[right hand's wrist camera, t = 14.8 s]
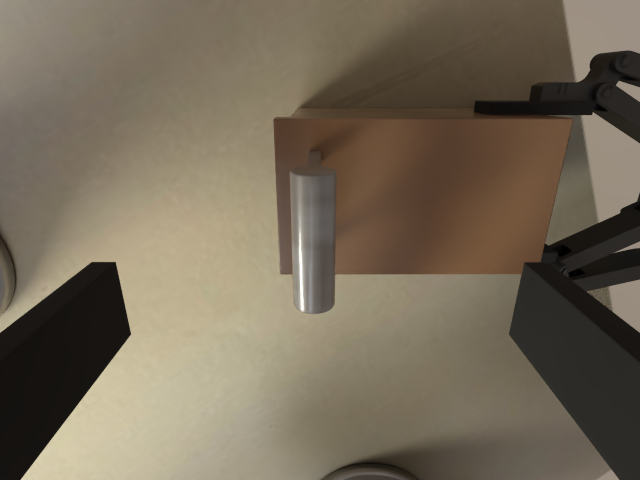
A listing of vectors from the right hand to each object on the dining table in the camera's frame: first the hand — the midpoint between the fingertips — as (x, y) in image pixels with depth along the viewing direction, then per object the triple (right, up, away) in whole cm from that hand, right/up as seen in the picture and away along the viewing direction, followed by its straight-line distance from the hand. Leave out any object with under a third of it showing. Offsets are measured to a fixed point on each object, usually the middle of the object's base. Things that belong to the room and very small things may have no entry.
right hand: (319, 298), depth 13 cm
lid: (+6, +5, +11) cm, 14 cm away
